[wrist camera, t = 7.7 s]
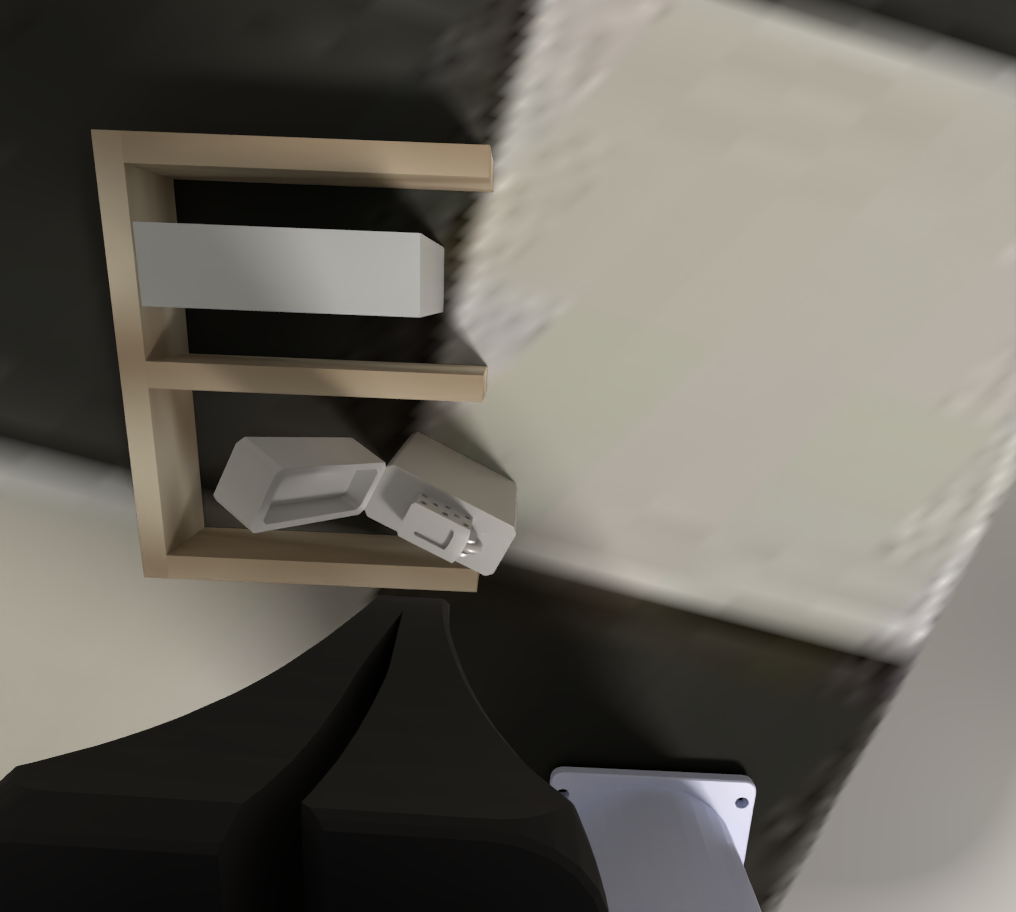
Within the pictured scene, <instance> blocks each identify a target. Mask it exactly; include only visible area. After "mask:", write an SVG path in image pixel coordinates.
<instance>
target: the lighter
mask: <svg viewBox="0 0 1016 912" xmlns="http://www.w3.org/2000/svg"><path fill="white" fill-rule="evenodd" d="M213 496H214V497H215V499H216V501H217V502H219V503H220V504H221V505H222V506H223V507H224V508H225V509H227V510H228V511H229V512H230V513H231V514H232V515H233V516H234V517H236V518H237V519H238V520H239V521H240V522H241V523H242V524H244V525H245V526H246V527H247V528H248V529H249V530H250V531H251V532H253V533H258V532H264V531H269V530H275V529H281V528H286V527H292V526H298V525H303V524H309V523H315V522H320V521H326V520H331V519H337V518H343V517H348V516H354V515H359V514H360V513H361V512H362V511H363V510H364V509H365V512H366V515H367V517H369V518H371V519H373V520H375V521H377V522H379V523H381V524H383V525H385V526H387V527H389V528H391V529H393V530H395V531H397V534H398V536H399V537H401V538H403V539H405V540H407V541H409V542H411V543H413V544H415V545H417V546H419V547H421V548H423V549H425V550H427V551H429V552H431V553H433V554H435V555H437V556H439V557H441V558H443V559H445V560H447V561H449V562H451V563H453V562H454V561H456V562H458V563H460V564H462V565H464V566H466V567H468V568H470V569H472V570H474V571H476V572H478V573H480V574H482V575H484V576H487V575H491V574H493V573H494V572H495V570H496V568H497V566H498V565H499V563H500V561H501V560H502V558H503V556H504V554H505V553H506V551H507V549H508V548H509V546H510V544H511V543H512V541H513V539H514V537H515V536H516V517H517V487H516V484H515V482H513V481H511V480H509V479H507V478H506V477H504V476H502V475H500V474H498V473H496V472H494V471H492V470H490V469H488V468H487V467H485V466H483V465H481V464H479V463H477V462H475V461H473V460H471V459H469V458H467V457H466V456H464V455H462V454H460V453H458V452H456V451H454V450H452V449H450V448H448V447H447V446H445V445H443V444H441V443H439V442H437V441H435V440H433V439H431V438H429V437H428V436H426V435H424V434H422V433H420V432H416V433H413V434H411V435H410V437H409V438H408V439H407V440H406V442H405V443H404V444H403V445H402V447H401V448H400V449H399V451H398V452H397V453H396V454H395V456H394V457H393V458H392V459H391V461H390V462H389V463H388V465H387V466H386V465H385V462H384V461H382V460H381V459H380V458H378V457H377V456H376V455H374V454H373V453H372V452H370V451H369V450H368V449H366V448H365V447H364V446H362V445H361V444H360V443H358V442H357V441H356V440H354V439H353V438H346V437H244V438H243V439H241V440H240V441H239V442H237V443H236V445H235V447H234V449H233V451H232V454H231V456H230V458H229V460H228V463H227V465H226V467H225V470H224V472H223V474H222V476H221V479H220V481H219V483H218V486H217V488H216V490H215V492H214V495H213Z"/></svg>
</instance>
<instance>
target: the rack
mask: <svg viewBox="0 0 1016 912" xmlns="http://www.w3.org/2000/svg"><path fill="white" fill-rule="evenodd" d="M91 135H92V143H93V152H94V160H95V169H96V177H97V185H98V194H99V202H100V211H101V219H102V227H103V236H104V244H105V253H106V261H107V269H108V278H109V286H110V294H111V303H112V311H113V320H114V328H115V336H116V345H117V353H118V362H119V370H120V378H121V387H122V395H123V404H124V412H125V420H126V429H127V437H128V446H129V454H130V462H131V471H132V479H133V488H134V496H135V504H136V513H137V521H138V530H139V538H140V546H141V555H142V563H143V571H144V577H151V578H173V579H196V580H218V581H240V582H263V583H285V584H307V585H330V586H352V587H374V588H397V589H419V590H441V591H463V592H477V586H478V579H479V573H478V572H476V571H474V570H472V569H470V568H468V567H466V566H464V565H462V564H460V563H458V562H456V561H454V562H453V563H451V562H449V561H447V560H445V559H443V558H441V557H439V556H437V555H435V554H433V553H431V552H429V551H427V550H425V549H423V548H421V547H419V546H417V545H415V544H413V543H411V542H409V541H407V540H405V539H403V538H401V537H399V536H395V535H372V534H350V533H327V532H304V531H282V530H269V531H264V532H258V533H253V532H251V531H250V530H249V529H236V528H214V527H205V526H204V514H203V503H202V492H201V481H200V470H199V459H198V448H197V437H196V426H195V415H194V403H193V392H192V390H203V391H226V392H250V393H273V394H297V395H320V396H344V397H368V398H391V399H415V400H438V401H462V402H483V399H484V396H485V393H486V390H487V366H475V365H451V364H427V363H404V362H380V361H356V360H332V359H309V358H285V357H261V356H237V355H214V354H190V353H189V348H188V337H187V326H186V315H185V308H177V307H152V306H142V302H141V293H140V284H139V275H138V266H137V256H136V247H135V238H134V229H133V221H134V222H159V223H177V215H176V204H175V193H174V182H173V179H180V180H205V181H230V182H255V183H280V184H305V185H330V186H355V187H380V188H405V189H430V190H455V191H480V192H493V170H494V163H493V158H492V153H491V148H490V145H474V144H449V143H423V142H398V141H373V140H347V139H322V138H296V137H271V136H246V135H220V134H195V133H170V132H144V131H119V130H93V129H91Z"/></svg>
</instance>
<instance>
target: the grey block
mask: <svg viewBox="0 0 1016 912" xmlns="http://www.w3.org/2000/svg"><path fill="white" fill-rule="evenodd" d="M133 229H134V238H135V247H136V256H137V266H138V275H139V284H140V293H141V302H142V306H152V307H177V308H201V309H225V310H249V311H273V312H298V313H322V314H346V315H370V316H394V317H418V318H420V317H424V316H428V315H432V314H437V313H441V312H443V300H444V247H442V246H441V245H439V244H437V243H436V242H434V241H432V240H431V239H429V238H428V237H426V236H424V235H423V234H421V233H406V232H381V231H357V230H332V229H307V228H283V227H258V226H233V225H208V224H184V223H159V222H134V221H133Z"/></svg>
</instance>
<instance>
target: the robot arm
mask: <svg viewBox="0 0 1016 912" xmlns="http://www.w3.org/2000/svg"><path fill="white" fill-rule="evenodd" d="M449 610H450V605H449V604H448V603H447V601H446V600H445V599H438V598H422V597H406V596H390V595H380V596H379V597H378V598H376V599H375V600H374V601H372V602H371V603H370V604H369V605H367V606H366V607H365V608H364V609H362V610H361V611H360V612H359V613H357V614H356V615H355V616H354V617H352V618H351V619H350V620H349V621H347V622H346V623H345V624H343V625H342V626H341V627H339V628H338V629H337V630H335V631H334V632H333V633H332V634H330V635H329V636H328V637H326V638H325V639H324V640H322V641H321V642H319V643H318V644H316V645H315V646H313V647H312V648H310V649H309V650H307V651H306V652H304V653H303V654H301V655H300V656H298V657H297V658H295V659H294V660H292V661H291V662H289V663H288V664H286V665H285V666H283V667H282V668H280V669H278V670H277V671H275V672H273V673H271V674H270V675H268V676H266V677H264V678H263V679H261V680H259V681H257V682H255V683H253V684H251V685H249V686H248V687H246V688H244V689H242V690H240V691H238V692H236V693H234V694H232V695H230V696H227V697H225V698H223V699H221V700H218V701H216V702H214V703H212V704H209V705H207V706H205V707H203V708H200V709H198V710H196V711H193V712H191V713H189V714H187V715H184V716H182V717H179V718H177V719H174V720H172V721H169V722H166V723H164V724H161V725H158V726H155V727H153V728H150V729H147V730H144V731H141V732H138V733H135V734H132V735H129V736H126V737H123V738H120V739H117V740H114V741H111V742H107V743H104V744H101V745H97V746H94V747H90V748H86V749H82V750H79V751H75V752H71V753H67V754H64V755H60V756H56V757H52V758H48V759H45V760H41V761H37V762H33V763H29V764H25V765H20V766H16V767H15V768H14V769H13V770H12V771H11V772H10V773H9V774H7V775H6V776H5V777H4V778H3V779H2V780H1V781H0V912H761V909H760V907H759V904H758V901H757V899H756V896H755V894H754V891H753V889H752V886H751V884H750V881H749V879H748V876H747V873H746V871H745V868H744V860H745V854H746V848H747V842H748V837H749V831H750V825H751V819H752V813H753V807H754V801H755V796H756V787H755V785H754V783H753V781H752V780H751V778H749V777H748V776H745V775H733V774H712V773H691V772H669V771H648V770H627V769H605V768H584V767H558V768H556V769H554V770H553V771H552V773H551V776H550V784H548V783H547V782H546V781H545V780H543V779H542V778H541V777H540V776H538V775H537V774H536V773H535V772H534V771H533V770H532V769H531V768H530V767H528V766H527V765H526V764H525V763H524V762H523V761H522V760H521V758H520V757H519V756H518V755H517V754H516V752H515V751H514V750H513V749H512V748H511V746H510V745H509V744H508V743H507V742H506V740H505V739H504V738H503V737H502V735H501V734H500V733H499V732H498V731H497V729H496V728H495V726H494V725H493V723H492V722H491V720H490V719H489V717H488V716H487V714H486V713H485V711H484V710H483V708H482V706H481V705H480V703H479V701H478V700H477V698H476V696H475V694H474V692H473V690H472V688H471V686H470V684H469V682H468V680H467V678H466V676H465V673H464V671H463V669H462V666H461V664H460V661H459V659H458V656H457V653H456V650H455V646H454V643H453V640H452V636H451V632H450V627H449ZM560 789H565V790H567V791H565V792H559V791H558V790H560ZM742 797H743V799H742V800H738V801H737V799H738V798H742Z"/></svg>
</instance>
